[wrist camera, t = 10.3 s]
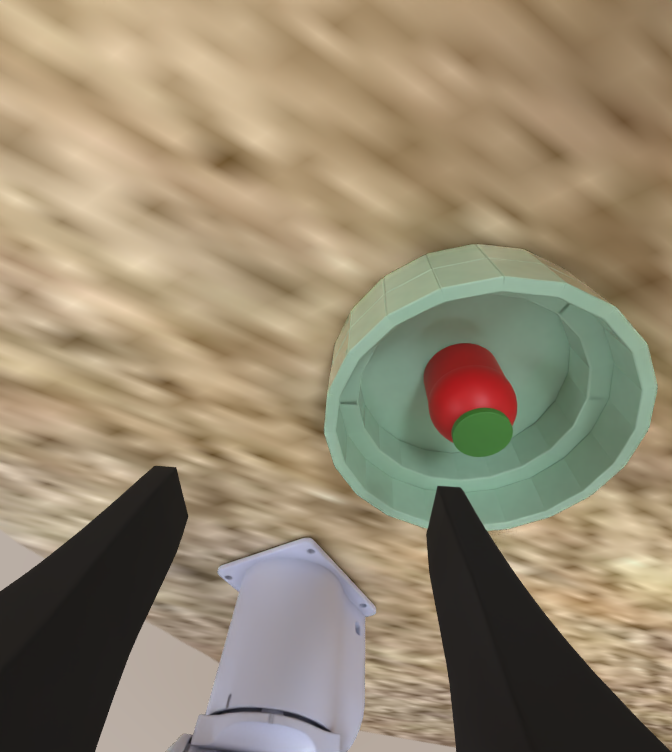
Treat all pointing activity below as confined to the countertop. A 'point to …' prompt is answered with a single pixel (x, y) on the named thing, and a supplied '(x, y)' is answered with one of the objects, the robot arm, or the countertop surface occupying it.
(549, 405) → the bowl
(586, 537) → the countertop surface
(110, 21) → the countertop surface
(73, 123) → the countertop surface
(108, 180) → the countertop surface
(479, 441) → the strawberry
